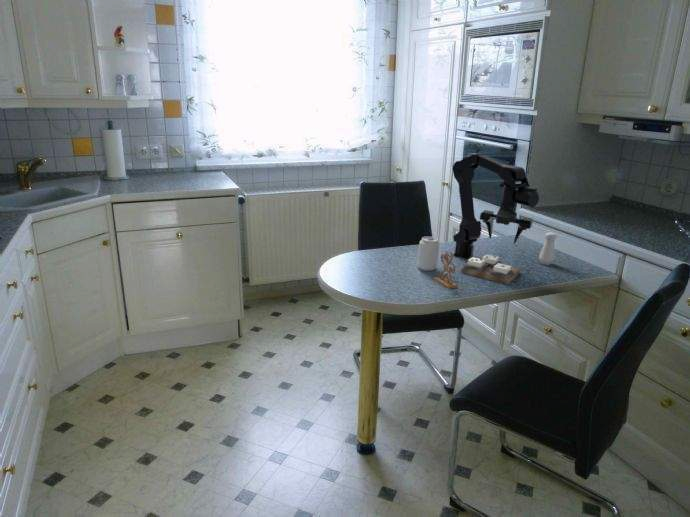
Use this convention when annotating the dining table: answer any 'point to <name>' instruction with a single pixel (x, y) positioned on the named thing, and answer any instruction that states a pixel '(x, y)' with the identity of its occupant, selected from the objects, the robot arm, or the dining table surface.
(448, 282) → the figurine on base
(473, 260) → the tile three
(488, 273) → the board
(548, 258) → the salt shaker
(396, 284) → the dining table surface
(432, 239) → the can
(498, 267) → the tile one
